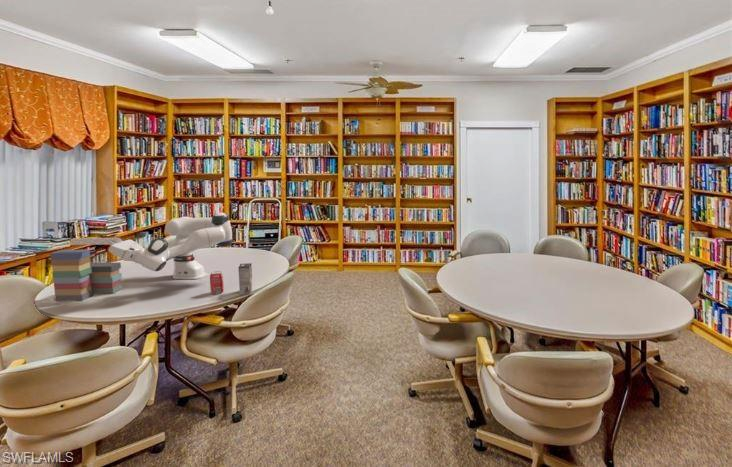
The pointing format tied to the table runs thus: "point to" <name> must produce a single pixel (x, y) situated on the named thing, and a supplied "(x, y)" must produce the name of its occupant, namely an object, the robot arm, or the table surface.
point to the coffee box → (245, 278)
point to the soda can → (216, 282)
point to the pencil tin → (93, 241)
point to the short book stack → (105, 278)
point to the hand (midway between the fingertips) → (110, 240)
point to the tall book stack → (71, 275)
